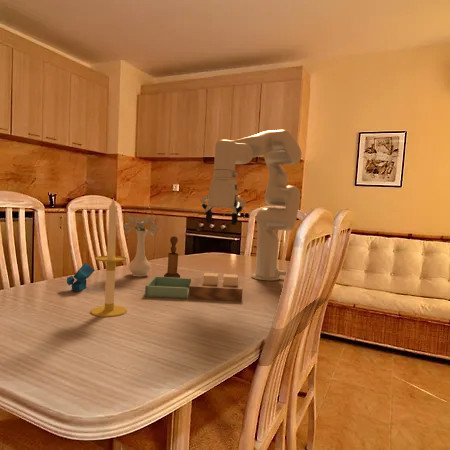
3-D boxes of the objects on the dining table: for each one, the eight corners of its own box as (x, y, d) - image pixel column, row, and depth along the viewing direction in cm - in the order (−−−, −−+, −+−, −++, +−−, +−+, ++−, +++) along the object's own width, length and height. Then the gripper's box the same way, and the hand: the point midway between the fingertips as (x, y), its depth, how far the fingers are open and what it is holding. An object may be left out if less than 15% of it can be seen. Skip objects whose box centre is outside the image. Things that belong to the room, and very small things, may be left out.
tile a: (236, 282, 133) (237, 274, 133) (237, 285, 128) (238, 277, 128) (223, 282, 133) (223, 273, 133) (223, 285, 128) (223, 276, 128)
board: (239, 290, 138) (240, 280, 138) (241, 300, 124) (242, 289, 124) (191, 288, 138) (192, 277, 137) (188, 298, 124) (189, 286, 123)
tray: (190, 287, 139) (191, 278, 138) (186, 298, 123) (187, 288, 122) (153, 285, 138) (154, 276, 138) (144, 296, 122) (145, 286, 122)
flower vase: (159, 271, 165) (162, 216, 163) (148, 280, 147) (151, 218, 145) (131, 269, 166) (133, 214, 164) (116, 278, 147) (119, 216, 146)
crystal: (60, 272, 120) (77, 258, 132) (63, 296, 123) (78, 280, 134) (83, 274, 120) (97, 260, 131) (84, 297, 122) (98, 282, 134)
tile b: (217, 281, 133) (218, 273, 133) (217, 284, 128) (218, 276, 128) (203, 281, 133) (204, 272, 133) (203, 284, 128) (203, 275, 128)
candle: (93, 318, 98) (97, 196, 96) (88, 307, 106) (92, 196, 104) (130, 315, 102) (135, 198, 100) (123, 305, 111) (127, 198, 109)
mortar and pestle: (176, 283, 144) (179, 237, 143) (161, 281, 146) (163, 236, 145) (182, 280, 151) (184, 236, 150) (167, 278, 152) (169, 235, 151)
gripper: (250, 177, 131) (247, 225, 132) (206, 176, 137) (204, 221, 138) (243, 175, 124) (240, 225, 125) (197, 174, 130) (195, 222, 131)
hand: (221, 223), depth 131 cm, fingers open, 9 cm apart
